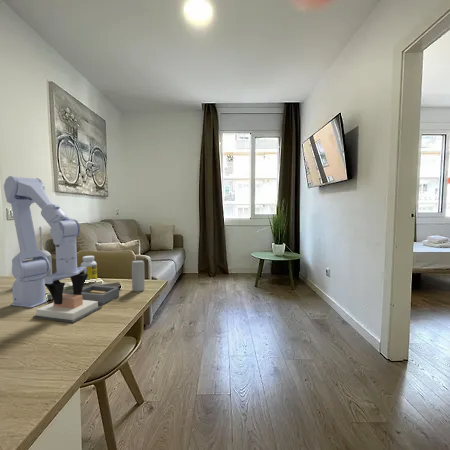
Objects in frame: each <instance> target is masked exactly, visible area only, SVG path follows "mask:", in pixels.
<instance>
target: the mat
mask: <svg viewBox="0 0 450 450" xmlns="http://www.w3.org/2000/svg"><path fill="white" fill-rule="evenodd" d="M102 308H103V307H102V306H101V305H98V307H97V308H96V309H94V310H92V311H90V312H88V313H86V314H84V315H82V316H80V317H78V318H76V319H75V320H67V319H59V318H51V317H44V316H36V314H35V315H33V316H32V318H33V319H39V320H46V321H53V322H63V323H69V324H75V323H77V322H79V321H80V320H83V319H85V318H86V317H88V316H90V315H92V314H94V313H95V312H97V311H99V310H101V309H102Z"/></svg>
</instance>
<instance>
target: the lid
mask: <svg viewBox="0 0 450 450" xmlns="http://www.w3.org/2000/svg"><path fill="white" fill-rule="evenodd" d="M52 301H53V302H51V303H48V304H45V305H43V306H41V307H39V308H36V309H35V313H36V314H35V315H36V316H44V317H51V318H59V319H67V320H75V319H76V318H78V317H80V316H82V315H84V314H86V313H88V312H90V311H92V310H94V309H96V308H97V307H98V306H99V305H98V301H89V300H83V297H82V295H74V293H63V299H62V304H60V305H58V304H55V303H54V300H53V299H52Z"/></svg>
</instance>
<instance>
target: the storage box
mask: <svg viewBox="0 0 450 450" xmlns="http://www.w3.org/2000/svg"><path fill="white" fill-rule="evenodd" d="M81 295H82V297H83V300H89V301H98V306H103V305H105V304H108V303H109V302H111V301H113V300H115V299H118V298H119V297H120V287H118V286H117V287H116V286H105V285H95V284H92V285H91V284H90V285H89V286H87V287H83V288H82V293H81Z"/></svg>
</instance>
